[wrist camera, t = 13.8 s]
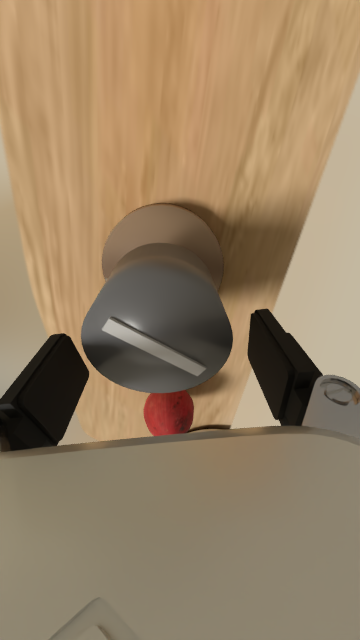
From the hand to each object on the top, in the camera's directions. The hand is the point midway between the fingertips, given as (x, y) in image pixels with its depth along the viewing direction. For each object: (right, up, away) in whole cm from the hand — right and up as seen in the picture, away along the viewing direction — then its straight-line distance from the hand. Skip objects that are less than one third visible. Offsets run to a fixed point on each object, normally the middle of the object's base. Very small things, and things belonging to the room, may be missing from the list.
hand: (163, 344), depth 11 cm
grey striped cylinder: (-1, +2, +3) cm, 4 cm away
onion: (-1, -7, +16) cm, 18 cm away
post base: (0, +6, +7) cm, 9 cm away
